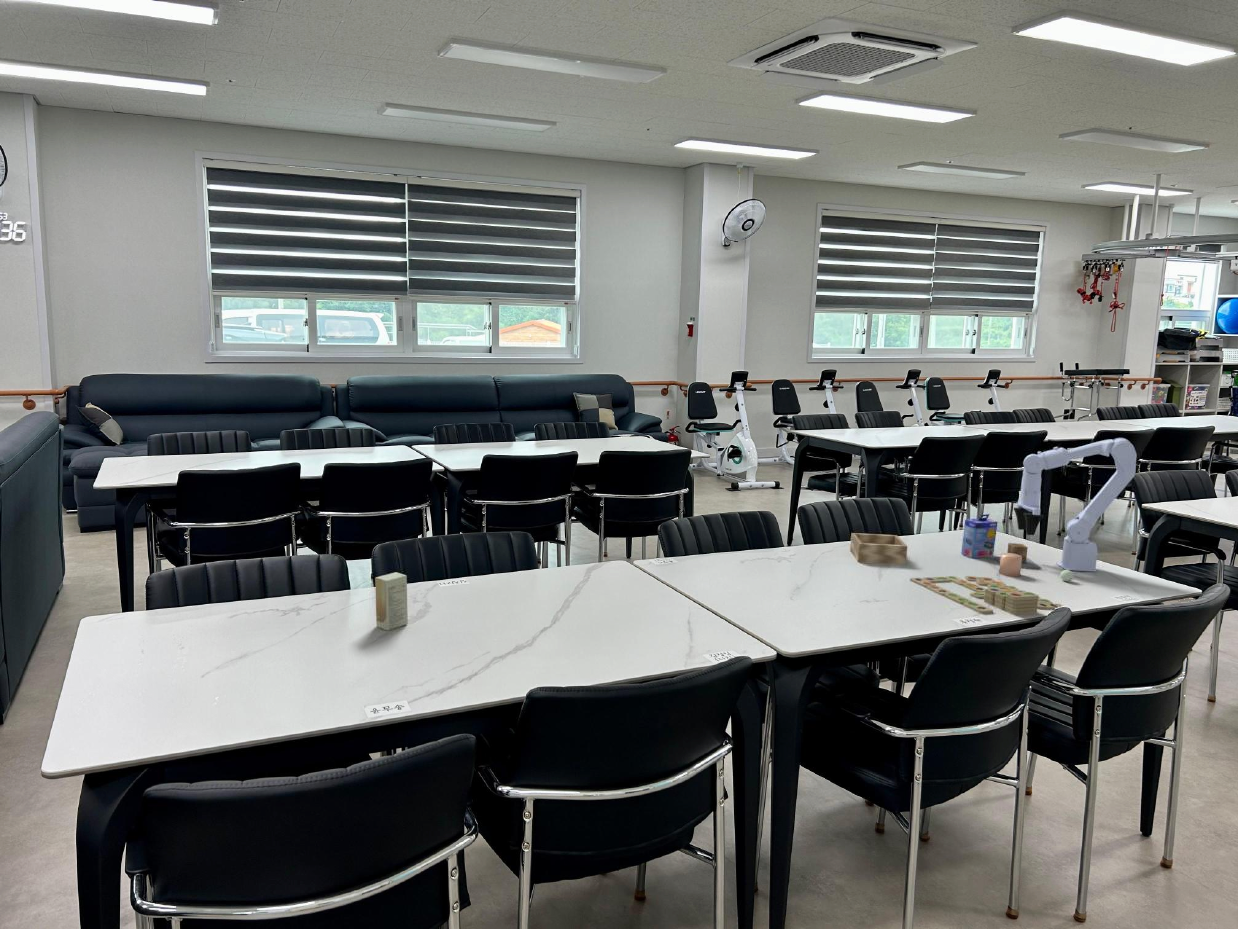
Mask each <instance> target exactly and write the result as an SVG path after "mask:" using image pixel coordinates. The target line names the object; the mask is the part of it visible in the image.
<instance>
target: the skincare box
mask: <svg viewBox="0 0 1238 929" xmlns="http://www.w3.org/2000/svg"><path fill="white" fill-rule="evenodd" d="M407 578H408V577H407V575H406V574H403V573H400V572H391V573H386V574H383V575H380V576H377V577H375V579H374V581H375V586H374V587H375V616H376V617H375V619H376V620H375V621H376V622H375V623H376V624H375V625H376V627H378V628H380V629H382V630H385V631H389V630H394V629H395V628H396V629H397V628H399V627H403V626H405V625H408V624H409V623H408V622H409V621H408V620H409V619H408V613H409V612H408V580H407Z"/></svg>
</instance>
